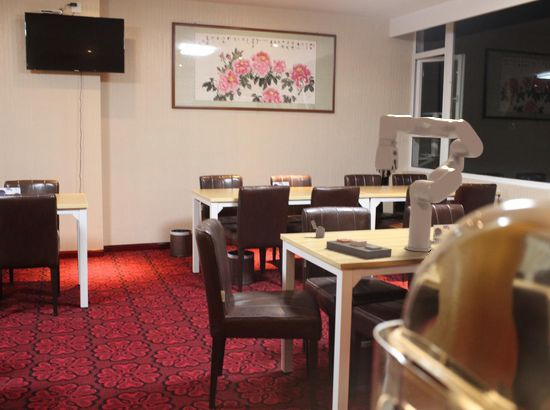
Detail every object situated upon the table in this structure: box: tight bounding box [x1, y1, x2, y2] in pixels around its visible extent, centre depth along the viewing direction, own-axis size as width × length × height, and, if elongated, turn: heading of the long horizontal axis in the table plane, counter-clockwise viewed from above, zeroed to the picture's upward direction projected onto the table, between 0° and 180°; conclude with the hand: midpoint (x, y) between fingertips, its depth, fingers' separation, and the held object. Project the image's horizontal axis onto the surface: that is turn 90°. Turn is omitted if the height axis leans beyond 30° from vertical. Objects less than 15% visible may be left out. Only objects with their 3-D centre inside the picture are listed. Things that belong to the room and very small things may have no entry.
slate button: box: [365, 244, 383, 250], centre depth 251 cm, size 5×5×3 cm
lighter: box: [310, 219, 326, 238], centre depth 294 cm, size 7×2×8 cm, turn 65°
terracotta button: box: [336, 238, 350, 243], centre depth 265 cm, size 5×5×3 cm
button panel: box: [326, 239, 392, 260], centre depth 258 cm, size 14×26×3 cm, turn 35°
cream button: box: [350, 238, 368, 247], centre depth 258 cm, size 5×5×3 cm
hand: (384, 185), depth 259 cm, fingers closed
